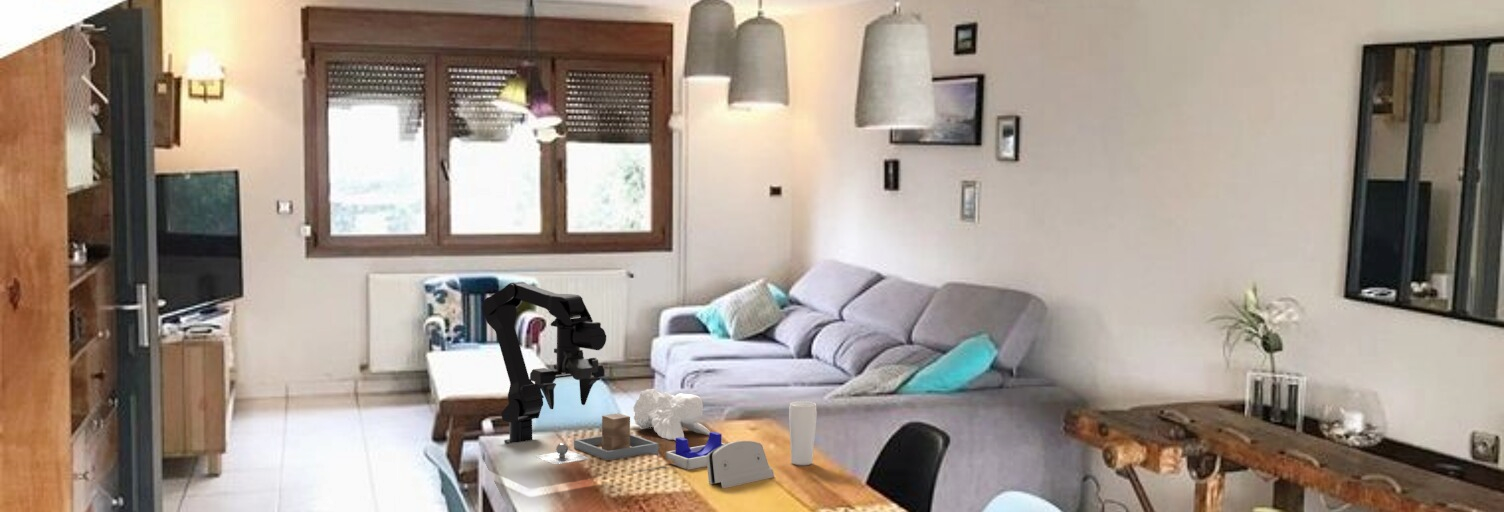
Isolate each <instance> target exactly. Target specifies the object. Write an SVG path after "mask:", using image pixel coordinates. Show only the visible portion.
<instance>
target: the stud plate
mask: <svg viewBox="0 0 1504 512" xmlns="http://www.w3.org/2000/svg"><path fill="white" fill-rule="evenodd" d="M555 450H556V451H555V452H550V453H542V454H539V455H534V456H533V457H534V458H538V459H540V460H542V461H545V462H547V463H550V464H552V465H562V464H567V463H574V462H579V461H584V460H585V461H586V460H591V458H590V457H588V456H585V455H582V454H580V453H577V452H575V451H572V450H569V447H568V445H567V444H565V443H563V442H562V443H559V444H557V445H556V448H555Z"/></svg>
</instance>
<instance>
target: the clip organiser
mask: <svg viewBox="0 0 1504 512" xmlns="http://www.w3.org/2000/svg"><path fill="white" fill-rule="evenodd" d="M724 444H725V443H723V442H721V446H722V445H724ZM705 445H706V444H704V445H699V446H698V445H697V446H692V447H689V448H690V450H691V451H693V452H698V451H700V450H701V449H703V448H704V446H705ZM675 452H676V449H675V450H669V451H665V459H666V460H669V461H672V463H670V464H671V465H672V466H673V465H674V466H676V467H679V468H682V469H684V470H687V471H688V470H689V471H690V470H693V469H700V468H704V467H707V459H706V457H707V455H706V456H701V457H695V458H689V459H688V458H685V457H682V456H679V455H676V454H675Z"/></svg>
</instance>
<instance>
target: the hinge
mask: <svg viewBox="0 0 1504 512" xmlns="http://www.w3.org/2000/svg"><path fill="white" fill-rule="evenodd" d="M706 459H707V466H706V467H707V476H708V484H709V485H714V484H718V483H721V488H722V489H727V488H730V487H736V486H740V485H745V484H748V483H753V482H757V481H762V480H767V479H770V478H771V479H772V478H774V477H775V475H774V470H773V468H772V467H770V465H769V462H768V460H767V459H768V458H767V456H766V452H765V450H764V447H763V444H761V443H760V442H756V441H751V440H737V441H732V442H728V443H724V445H722V446H720V447H718V448H716V449H714V450H713V451H711V452H710V453H709V454H707V457H706Z"/></svg>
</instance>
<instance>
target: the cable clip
mask: <svg viewBox="0 0 1504 512" xmlns="http://www.w3.org/2000/svg"><path fill="white" fill-rule="evenodd" d="M721 443H722V433H719V432H717V431H712V432H711V431H710V433H709V435H708V439H707V441H706V444H704V445H705V446H704V448H703V449H701V450H700V451H698V452H693V451H691V450H690V448H691V447H690V445H689V439H687V438H685V437H684V438H682V437H678V438H676V441H675V450H676V452H675V454H676V455H679V456H682V457H685V458H688V459H689V458H695V457H701V456H706V455H707V454H709V453H710V452H711V451H713V450H714V449H716V448H718V447H720V446H721Z"/></svg>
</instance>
